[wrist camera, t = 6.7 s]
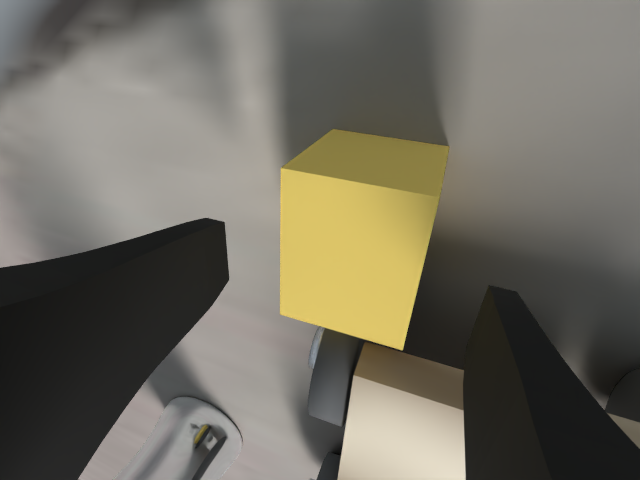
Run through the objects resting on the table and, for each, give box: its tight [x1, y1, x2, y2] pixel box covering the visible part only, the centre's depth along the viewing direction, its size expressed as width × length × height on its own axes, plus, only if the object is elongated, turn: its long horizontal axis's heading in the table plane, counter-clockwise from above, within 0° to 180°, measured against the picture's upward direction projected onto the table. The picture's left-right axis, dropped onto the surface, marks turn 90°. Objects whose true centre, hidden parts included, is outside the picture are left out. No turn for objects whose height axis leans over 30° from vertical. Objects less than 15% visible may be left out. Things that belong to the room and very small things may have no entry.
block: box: [280, 129, 449, 350], centre depth 12 cm, size 5×4×4 cm
